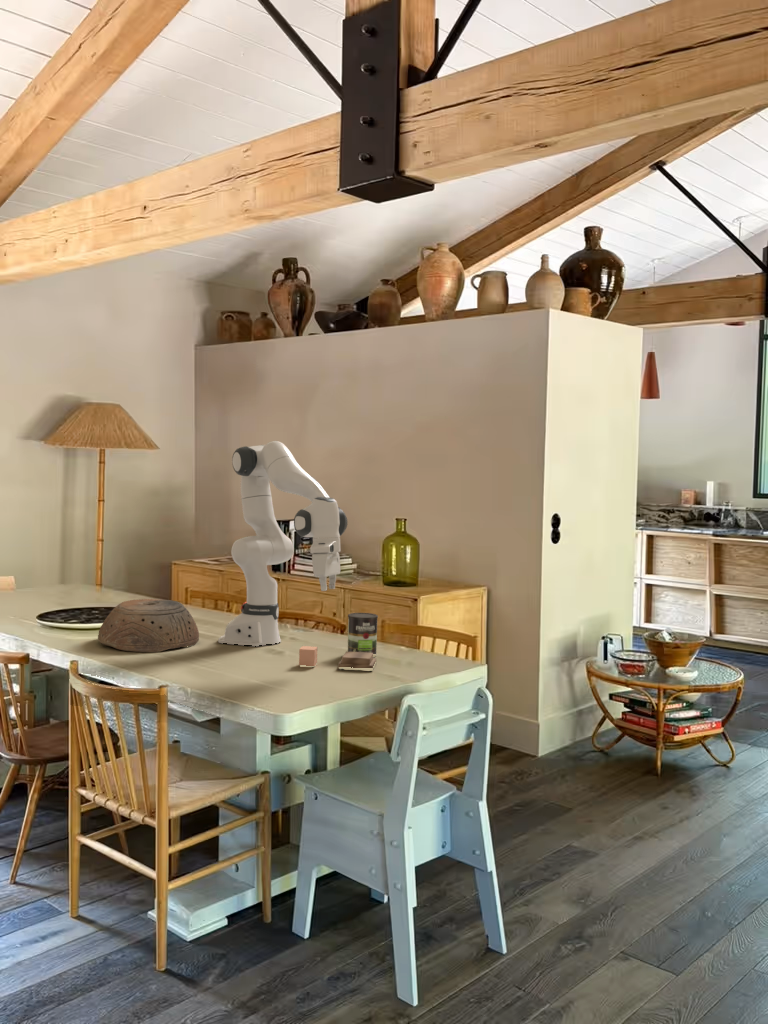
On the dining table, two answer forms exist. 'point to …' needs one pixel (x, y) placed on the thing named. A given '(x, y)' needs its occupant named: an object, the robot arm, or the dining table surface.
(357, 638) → the coffee can
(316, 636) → the dining table surface
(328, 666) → the dining table surface
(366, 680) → the dining table surface
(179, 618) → the ceramic artifact
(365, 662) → the plinth
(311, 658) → the block
